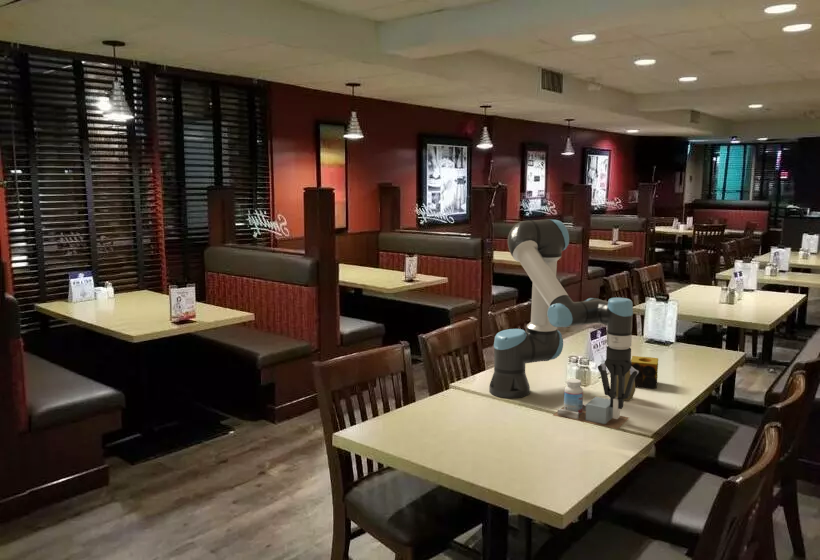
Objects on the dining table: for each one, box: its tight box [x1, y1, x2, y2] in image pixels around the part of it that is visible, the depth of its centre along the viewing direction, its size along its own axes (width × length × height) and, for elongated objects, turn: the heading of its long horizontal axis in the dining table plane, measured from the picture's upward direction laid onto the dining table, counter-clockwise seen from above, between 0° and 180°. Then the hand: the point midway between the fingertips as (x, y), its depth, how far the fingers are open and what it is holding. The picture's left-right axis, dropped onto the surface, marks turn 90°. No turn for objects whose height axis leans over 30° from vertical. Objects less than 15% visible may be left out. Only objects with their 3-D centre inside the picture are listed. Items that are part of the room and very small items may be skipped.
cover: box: [585, 396, 613, 424], centre depth 214 cm, size 6×9×5 cm
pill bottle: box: [563, 378, 584, 415], centre depth 219 cm, size 6×6×11 cm
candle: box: [631, 355, 659, 390], centre depth 253 cm, size 10×10×10 cm
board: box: [552, 403, 630, 430], centre depth 216 cm, size 22×12×4 cm, turn 54°
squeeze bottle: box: [616, 361, 636, 402], centre depth 236 cm, size 8×8×18 cm
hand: (616, 417), depth 211 cm, fingers closed
